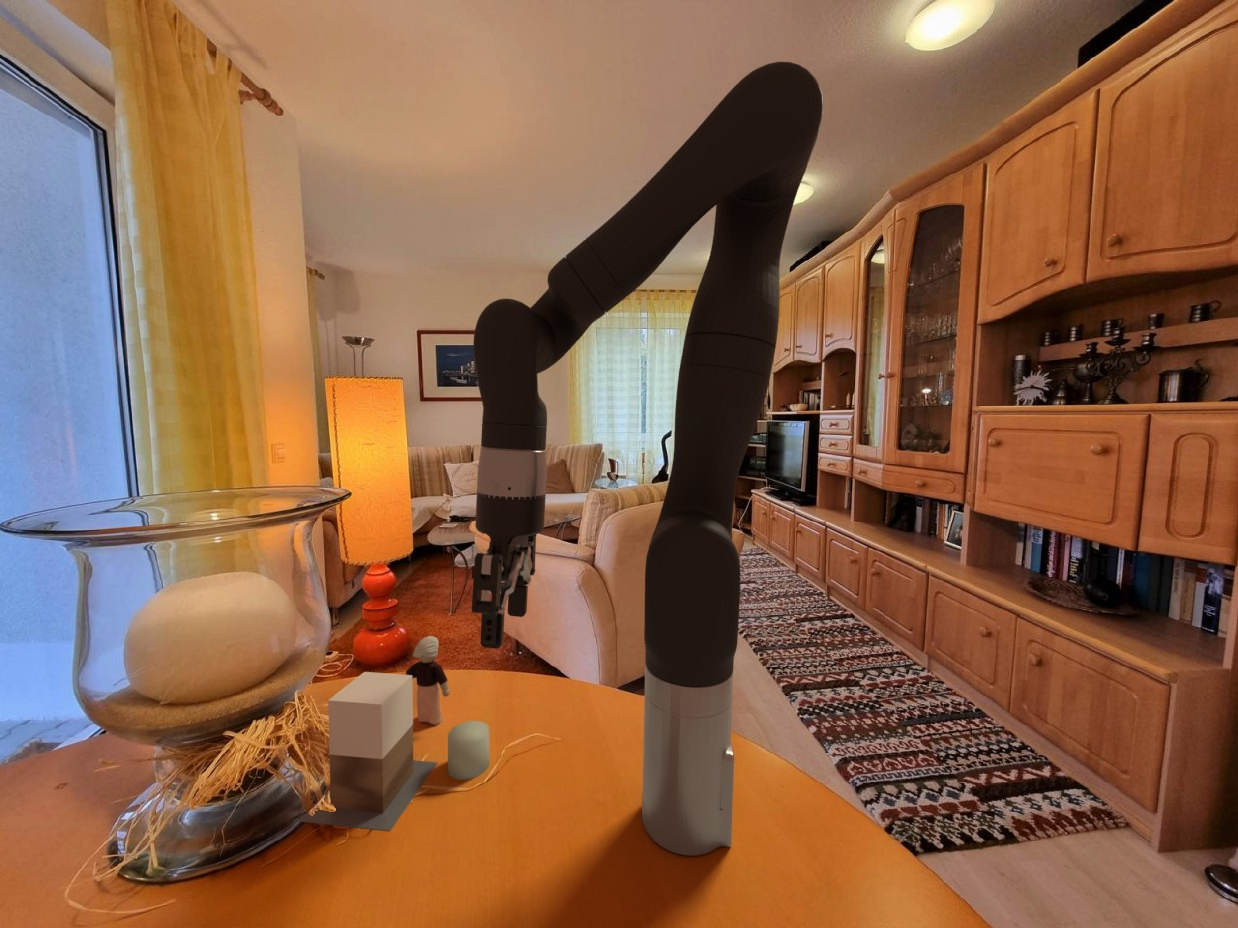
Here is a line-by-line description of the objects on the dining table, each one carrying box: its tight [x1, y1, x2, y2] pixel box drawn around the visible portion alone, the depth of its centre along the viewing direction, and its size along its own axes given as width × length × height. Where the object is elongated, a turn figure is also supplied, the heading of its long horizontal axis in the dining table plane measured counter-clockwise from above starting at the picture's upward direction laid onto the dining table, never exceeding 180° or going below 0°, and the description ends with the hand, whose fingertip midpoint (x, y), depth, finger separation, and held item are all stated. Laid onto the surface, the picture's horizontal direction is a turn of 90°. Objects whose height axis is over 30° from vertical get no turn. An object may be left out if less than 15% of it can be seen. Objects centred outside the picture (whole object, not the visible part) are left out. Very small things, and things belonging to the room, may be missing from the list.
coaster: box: [298, 759, 438, 832], centre depth 53 cm, size 10×10×1 cm
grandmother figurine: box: [405, 635, 451, 726], centre depth 66 cm, size 8×4×13 cm, turn 82°
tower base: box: [329, 724, 414, 813], centre depth 53 cm, size 6×6×6 cm
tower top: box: [327, 671, 414, 759], centre depth 52 cm, size 6×6×6 cm
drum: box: [447, 720, 490, 781], centre depth 57 cm, size 5×5×5 cm
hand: (505, 629), depth 53 cm, fingers open, 8 cm apart
